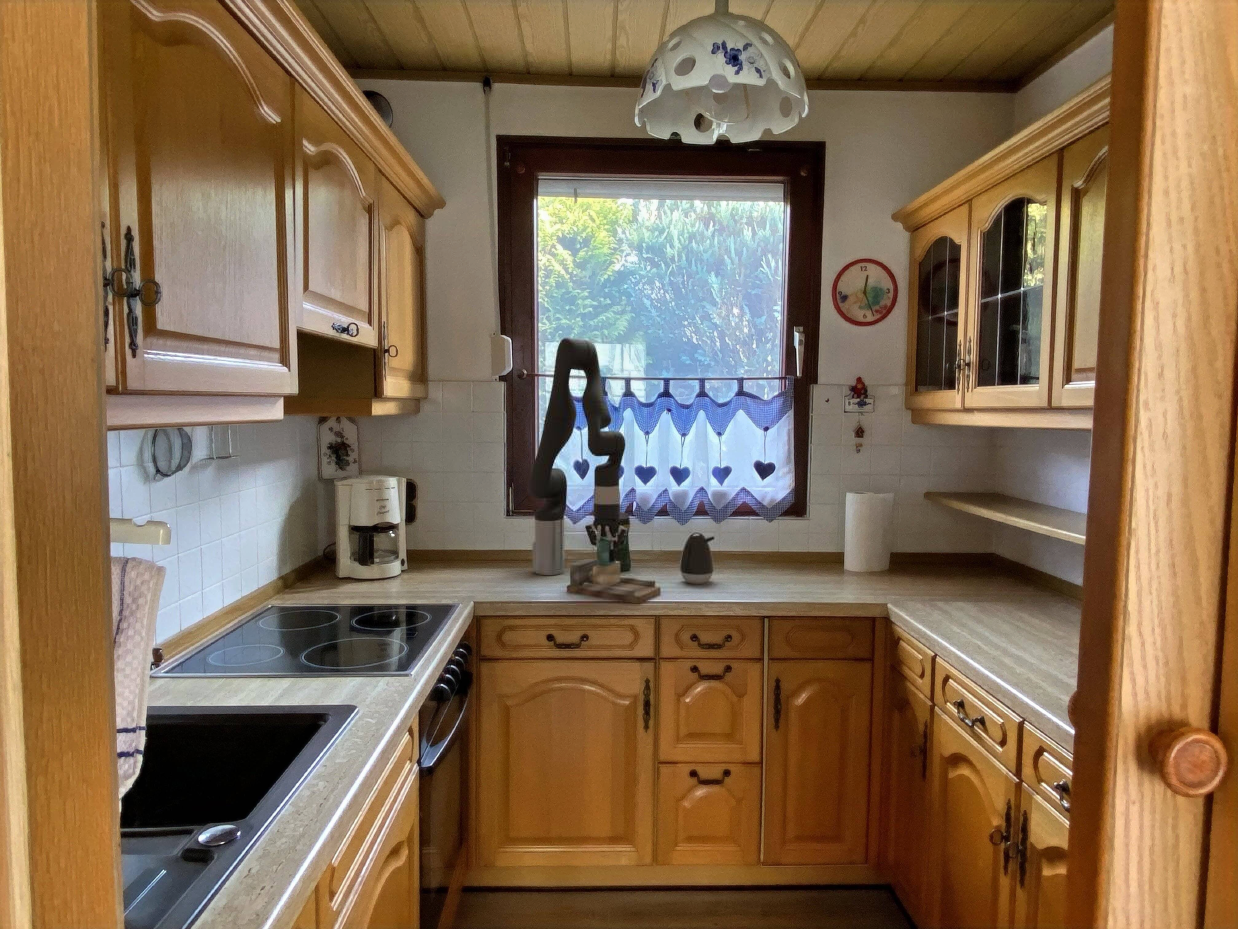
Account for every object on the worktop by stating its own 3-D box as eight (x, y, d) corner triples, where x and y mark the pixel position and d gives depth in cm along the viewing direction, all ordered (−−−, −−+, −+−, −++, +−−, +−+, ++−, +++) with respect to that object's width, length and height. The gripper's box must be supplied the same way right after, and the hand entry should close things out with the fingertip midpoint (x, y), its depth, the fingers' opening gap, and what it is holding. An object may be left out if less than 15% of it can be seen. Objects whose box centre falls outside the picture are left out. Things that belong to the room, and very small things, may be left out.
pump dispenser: (710, 587, 227) (710, 536, 226) (676, 584, 230) (676, 534, 229) (717, 579, 237) (717, 530, 235) (684, 577, 240) (684, 528, 239)
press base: (565, 592, 221) (565, 565, 220) (590, 583, 232) (590, 557, 232) (638, 604, 209) (638, 575, 208) (661, 593, 220) (661, 566, 219)
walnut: (585, 584, 223) (585, 570, 222) (593, 581, 226) (593, 568, 226) (597, 586, 221) (597, 572, 220) (604, 583, 224) (604, 569, 224)
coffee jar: (624, 566, 256) (624, 510, 254) (633, 571, 249) (634, 513, 247) (597, 568, 252) (596, 512, 251) (606, 573, 245) (605, 515, 243)
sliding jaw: (593, 587, 218) (592, 542, 217) (611, 580, 227) (611, 536, 225) (602, 589, 216) (601, 543, 215) (620, 581, 225) (620, 537, 224)
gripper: (578, 501, 220) (579, 561, 221) (621, 504, 213) (621, 566, 214) (593, 498, 226) (593, 556, 228) (634, 501, 219) (634, 561, 220)
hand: (606, 560), depth 221 cm, fingers closed on sliding jaw, 3 cm apart
